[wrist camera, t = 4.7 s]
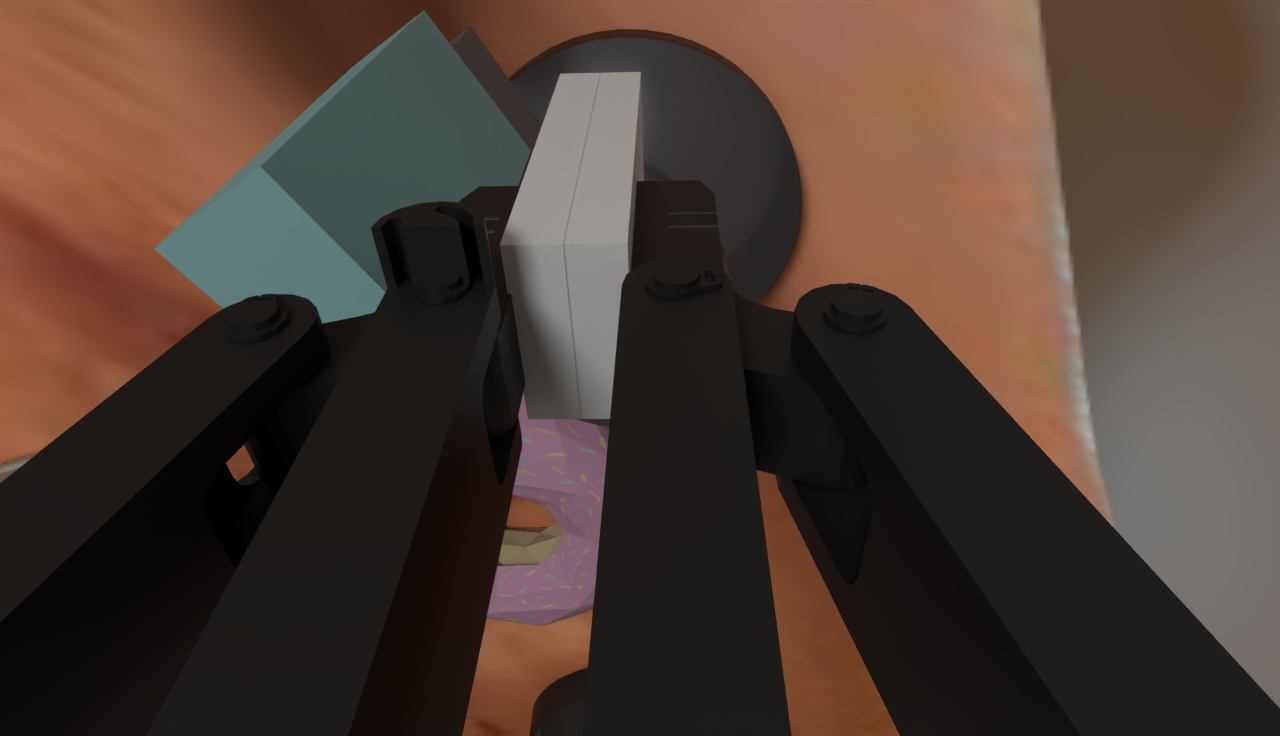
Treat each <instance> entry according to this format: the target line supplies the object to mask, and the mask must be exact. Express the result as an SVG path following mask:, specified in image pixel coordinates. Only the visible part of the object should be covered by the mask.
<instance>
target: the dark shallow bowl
mask: <svg viewBox="0 0 1280 736" xmlns="http://www.w3.org/2000/svg"><path fill="white" fill-rule="evenodd" d="M612 72H641V94H642V130H643V165H644V181H676V180H700V181H701V182H702V183H703V184H704V185H705V186H706V187H707V188H709V189H710V190H711V191H712V192H713V193H714V195H715V203H716V213H717V219H718V227H719V235H720V242H721V244H722V246H723V248H724V250H725V253H726V256H727V258H728V261H729V266H730V271H731V277H732V285H733V291H734V292H736V293H737V294H739V295H740V296H742V297H743V298H745V299H747V300H749V301H751V302H754V303H756V304H757V303H759V302H760V301H761V300H762V298H763V297H764V296H765V295H766V294H767V292H768V291H769V290H770V289H771V288H772V286H773V285H774V284H775V282H776V280H777V279H778V277H779V276H780V274H781V273H782V271H783V269H784V268H785V265H786V263H787V261H788V259H789V257H790V254H791V252H792V250H793V247H794V243H795V240H796V237H797V234H798V229H799V223H800V217H801V199H802V189H801V182H800V174H799V168H798V165H797V161H796V158H795V154H794V151H793V147H792V144H791V142H790V139H789V136H788V134H787V131H786V129H785V127H784V125H783V123H782V120H781V118H780V116H779V114H778V113H777V111H776V110H775V108H774V106H773V105H772V103H771V102H770V100H769V99H768V97H767V96H766V95H765V94H764V92H763V91H762V90H761V89H760V88H759V87H758V85H757V84H756V83H755V82H754V81H753V80H752V79H751V78H750V77H749V76H748V75H747V74H746V73H744V72H743V71H742V70H741V69H740V68H739V67H737V66H736V65H735V64H734V63H732V62H731V61H729V60H728V59H726V58H725V57H723V56H722V55H720V54H718V53H717V52H715V51H713V50H711V49H709V48H707V47H705V46H703V45H701V44H698V43H696V42H694V41H692V40H688V39H685V38H682V37H679V36H675V35H672V34H668V33H662V32H656V31H650V30H632V29H618V30H610V31H602V32H595V33H591V34H587V35H583V36H580V37H576V38H572V39H570V40H568V41H565V42H563V43H561V44H558V45H556V46H553V47H551V48H549V49H548V50H546V51H544V52H543V53H541V54H539V55H538V56H536V57H534V58H533V59H531V60H530V61H528V62H527V63H526V64H525V65H524V66H522V67H521V68H520V69H519V70H518V71H516V72H515V73H514V74H513V75H512V76H511V77H510V78H509V80H510V82H511V83H512V84H513V86H514V87H515V88H516V90H517V91H518V92H519V94H520V95H521V97H522V98H523V99H524V101H525V102H526V103H527V105H528V106H529V107H530V109H531V110H532V112H533V113H534V114H535V116H536V117H537V118H538V120H539V121H540V122H541V124H543V121H544V118H545V116H546V113H547V110H548V107H549V104H550V101H551V99H552V96H553V93H554V90H555V87H556V84H557V82H558V79H559V76H560V74H569V73H612Z"/></svg>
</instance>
